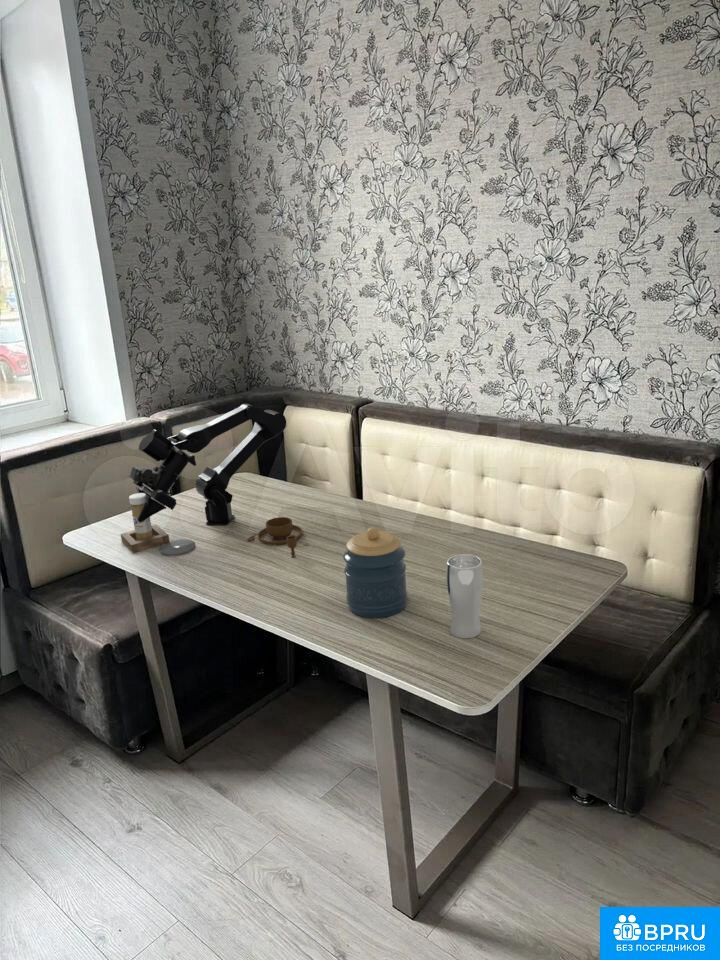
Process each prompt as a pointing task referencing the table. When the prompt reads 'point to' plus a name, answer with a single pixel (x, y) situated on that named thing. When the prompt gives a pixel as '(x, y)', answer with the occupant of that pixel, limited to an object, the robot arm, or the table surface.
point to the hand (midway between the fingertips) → (136, 518)
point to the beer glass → (465, 594)
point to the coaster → (177, 547)
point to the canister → (375, 574)
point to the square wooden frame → (156, 540)
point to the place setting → (280, 533)
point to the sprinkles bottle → (137, 505)
